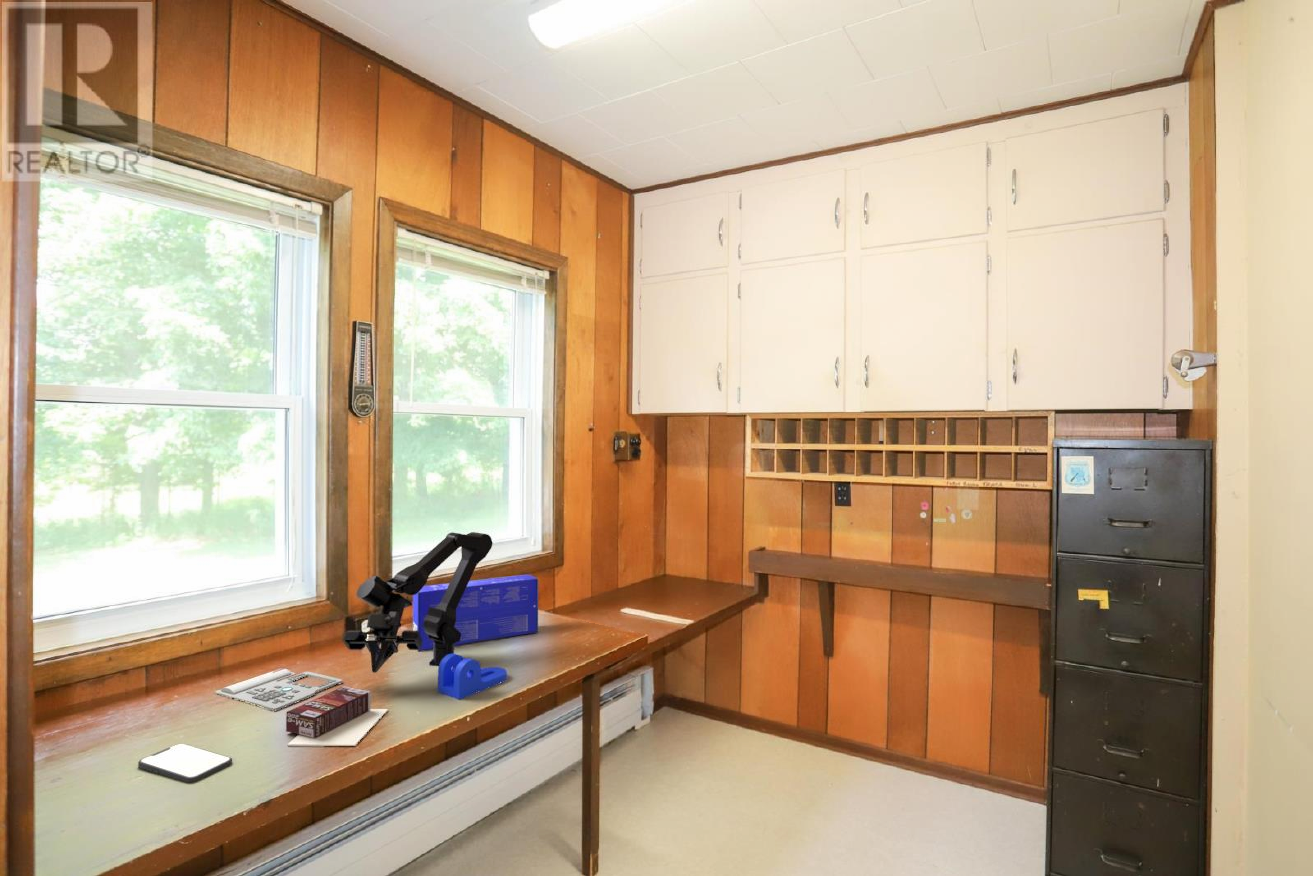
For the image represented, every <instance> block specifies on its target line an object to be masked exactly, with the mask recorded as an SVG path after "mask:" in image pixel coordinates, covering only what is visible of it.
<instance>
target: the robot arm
mask: <svg viewBox="0 0 1313 876" xmlns="http://www.w3.org/2000/svg"><path fill="white" fill-rule="evenodd" d="M493 544H494V542H493V540H492V537H491V536H490V535H489V534H487V533H481V532H476V531H473V532H472V531H471V532H469V533H467V534H464V533H463V534H462V533H459V532H448V534H447V535H446V536H445V538H444V539H443V540H441V541H440V542H439V543H438V544H437V545H436V546H434V548H432V549H431V550H430V551H429V552H428V553H427V554H425V555H424V556H423V557H422V558H421V559H419V561H417V562H416V563H414V564H412V565H409V566H407V567H405V568H403V569H401V570H400V571H398V572H397V573H396V574H395V575H394V576H393V577H391V578H390V579H388V580H386V581H384V580H383V579H382V578H381V577H379V576H378V575H374V574H373V575H371V577H370V578H368V579H366V580H365V581H363V582H362V583H361V584H360V585H359V586H358V588H357V591H356V598H358V599H359V600H361V601H362V602H364V603H366V604H367V605H369V606H371V607H373V608H375V609H377V608H380V610H379V612H378V613H372V614H371V613H370V614H368V617H367V623H366V628H369V632H370V633H371V634H366V635H365V634H364V632H363V631H362V630H347V631H346V632H344V633H343V637H342V639H341V640H342V641H343V643H344V645H345V646H346V648H347V649H348V650H350V651H362V650H363V649H364V648H365V647H366V649H367V651H368V652H369V653H370V659H371V660H370V661H371V672H372V673H373V674H375V673H377V672H378V671H379V670H380V669H381V668H382V666H383V665H384V664H385V663H386V662H387V661H388V660H389V658H390V657H392V656H393V655H394V654H397V653H398V652H399V645H400V644H401V645H402V644H406V647H407V649H408V650H409V651H417V650H420V649H421V647H422V638H421V636H420V634H419V632H418V631H413V630H403V631H402V632H401V635H398V632H399V628H401V626H402V623H401V621H402V617H403V615H404V611H405V609H406V608H409V607H413V602H412V601H411V600H410V598H409V596H413V595H415V594H417V593H418V592H419V591H420V590H421V589H422V588H423V586H426V584H427V583H428V580H429V577H430V575H431V574H432V573H433V572H434V571H435V570H437V568H439V567H440V566H441V564H443V563H444V562H445V561H446V560H447V559H448V558H450V557H451V556H452V555H453V554H454V553H455V552H457V550H458V549H459V548H461V549H460V551H461V558H460V561H459V563H458V564H457V567H456V569H455V571H454V573H453V576H452V577H451V580H450V581H449V586H448V588H447V590H446V592H445V594H444V596H443V598H442V600H441V602H440V604H439V605H438V606H436V607H435V608H434V607H430V608H429V610H428V613H427V615H426V617H425V618H424V619H423V620H425V621H424V624H423V628H424V631H425V633H426V634H427V636H428V639H431V640H434V649H432V650H433V652H432V653H433V654H432V655H433V658H432V659H431V660H430V661H429V663H428V664H429V666H433V665H434V666H437V665H438V666H439V664H440V662H441V660H442V659H443V658H444V657H445V656H446V655H448V654H451V653H454V654H455V646H454V644H455V643H456V642H458V641H460V638H461V633H460V632H459V631H458V630H457V629H456V628H455V627H454V626H455V623H456V608H457V606H458V604H459V602H460V600H461V598H462V595H463V593H464V591H465V589H466V587H467V585H468V583H469V581H471V578H472V576H473V574H474V572H475V570H476V568H477V565H478V564H479V563H481V562H482V561H483V560H484V559H485V558H487V555H488V554H489V553H490V551H491V549H492V547H493ZM402 594H404V595H408V596H404V595H402Z"/></svg>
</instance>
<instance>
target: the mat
mask: <svg viewBox="0 0 1313 876" xmlns="http://www.w3.org/2000/svg"><path fill="white" fill-rule="evenodd" d="M388 711H389V709H388V708H370V711H368V712H366V713H364V714H362V715H360V716H358V717H356V718H354V719H352V720H350V721H348V722H346V723H344V724H342V725H340V726H338V727H336V728H334V729H332V730H330V731H328V732H326V733H324V734H322V735H320V736H318V737H316V738H312V737H309V736H305V735H301V734H297V736H295V737H294V738H293V739H292V740H291V741H290V742H288V743H287V747H324V746H355V747H356V746H357V745H358V744H359V743H360V742H361V741H362V740H363V739H364V737H366V735H367V734H368V733H369V732H370V731H371V730H372V729H373V728H374V727H373V726H376V724H378V722H379V721H380V720H382V718H383V717H384V716H385V715H386V714H387V713H388ZM384 714H385V715H384ZM383 715H384V716H383ZM382 716H383V717H382ZM379 719H380V720H379ZM372 727H373V728H372ZM371 728H372V729H371ZM370 729H371V730H370ZM369 730H370V731H369ZM367 732H368V733H367ZM362 738H363V739H362ZM361 739H362V740H361ZM360 740H361V741H360ZM358 742H359V743H358Z"/></svg>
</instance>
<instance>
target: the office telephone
mask: <svg viewBox="0 0 1313 876" xmlns="http://www.w3.org/2000/svg"><path fill="white" fill-rule="evenodd" d="M295 674H296V672H293V671H291V670H289V669H287V668H286V667H282V668H278V669H276V670H273V671H270V672H267V673H264V674H261V675H257V676H255V677H252V678H249V679H247V680H244V681H240V682H238V683H234V684H231V685H228V686H226V687H225V686H224V687H222V688H221V689H218V690H215V691H214V694H215V693H217V694H219V695H218V696H220V695H223V696H230V697H232V698H235V699H238V700H244V701H247V702H250V703H252V704H255V705H259V706H262V707H264V708H266V709H268V710H267V711H269V710H272V711H271V712H273V711H275V710H278V711H280V709H281V708H283V709H285V708H284V707H285V706H288V705H291V704H293V703H295V702H297V701H300V700H303V701H305V700H304V699H306V698H308V697H310V696H313V695H315V696H316V694H317V693H316V692H318V691H321V692H323V691H322V690H324V689H326V688H328V687H331V688H333V687H332V686H334V685H336V684H339V683H342V684H343V679H342V678H337V677H334V676H330V675H325V674H320V673H316V672H312V671H303V672H301V673H298V674H296V675H295ZM293 675H295V676H293ZM291 676H293V677H291ZM306 676H311V677H315V678H314V679H316V678H322V679H325V680H328V681H329V682H328V681H326V682H324V683H321V684H320V685H316V686H311V685H307V684H302V683H298V682H292V681H294V680H296V679H299V678H303V677H306ZM289 677H290V678H289ZM311 677H310V678H311ZM284 678H287V679H284ZM306 678H307V677H306ZM282 679H284V680H282ZM303 679H304V678H303ZM280 680H281V681H280ZM277 681H278V682H277ZM339 685H340V684H339ZM336 686H337V685H336ZM334 687H335V686H334ZM326 690H327V689H326ZM324 691H325V690H324ZM315 693H316V694H315ZM217 694H216V695H217ZM223 696H222V697H223ZM313 697H314V696H313ZM310 698H311V697H310ZM308 699H309V698H308ZM306 700H307V699H306ZM293 705H294V704H293ZM291 706H292V705H291ZM288 707H289V706H288ZM266 709H265V710H266ZM281 710H282V709H281ZM275 712H276V711H275Z"/></svg>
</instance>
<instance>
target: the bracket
mask: <svg viewBox="0 0 1313 876" xmlns="http://www.w3.org/2000/svg"><path fill="white" fill-rule="evenodd" d="M507 672H508V671H507V669H506V668H503V667H501V666H500V667H499V666H490V667H489V666H487V667H484V668H482V666H481V663H480V662H479V661H478V660H476V659H472V658H469V657H468V658H464V657H463V656H462V655H461V654H460V655H459V654H457V653H455V652H454V653H451V654H448V655H446V656H445V657H444V658H443V659H442V660H441V662H440V664H439V665H438V669H437V692H438V693H440V694H443V695H445V696H448V697H450V698H454V699H456V700H459V701H460V700H463V699H465V698H467V697H469V696H473V695H475V694H477V693H479V692H478V691H480V692H482V691H484V689H485V690H487V689H486V688H488V687H490V688H493V687H495V686H497V685H496V684H498V683H500V682H503V681H504V682H505V680H507V679H506V678H507V675H508V674H507ZM504 682H503V683H504ZM500 684H501V683H500ZM494 685H495V686H494ZM498 685H499V684H498ZM492 686H493V687H492ZM488 689H489V688H488ZM476 692H477V693H476ZM474 693H475V694H474ZM464 697H465V698H464Z"/></svg>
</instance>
